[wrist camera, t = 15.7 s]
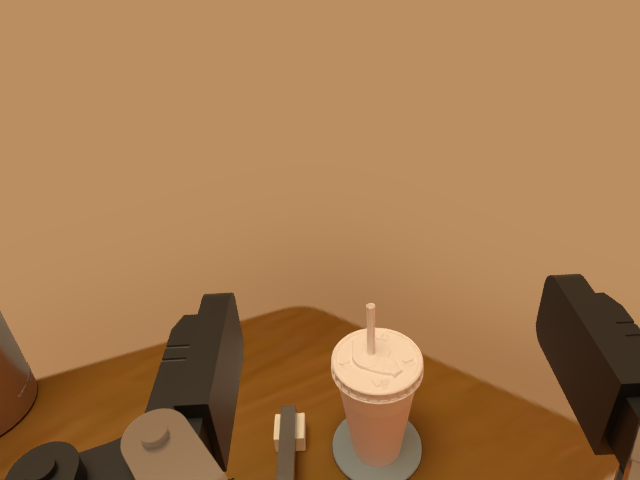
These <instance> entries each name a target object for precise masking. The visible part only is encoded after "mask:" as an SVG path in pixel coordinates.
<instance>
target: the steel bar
mask: <svg viewBox="0 0 640 480" xmlns="http://www.w3.org/2000/svg"><path fill="white" fill-rule="evenodd" d="M296 436H297V410H296V405H295V406H281V414H280V430H279V446H278V462H277V478H276V480H295V470H296Z"/></svg>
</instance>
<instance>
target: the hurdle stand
mask: <svg viewBox="0 0 640 480" xmlns="http://www.w3.org/2000/svg"><path fill="white" fill-rule="evenodd" d="M279 430H280V414H275V426H274V445H275V451H276V452H278V446H279ZM296 451H306V421H305V413H297V436H296Z"/></svg>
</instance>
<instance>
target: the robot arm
mask: <svg viewBox="0 0 640 480" xmlns="http://www.w3.org/2000/svg"><path fill="white" fill-rule="evenodd" d="M536 332H537V338H538V341H539V344H540V346H541V348H542V350H543V352H544V354H545V356H546V358H547V360H548V362H549V364H550V366H551V368H552V370H553V372H554V374H555V376H556V378H557V380H558V382H559V384H560V386H561V388H562V390H563V392H564V394H565V396H566V398H567V400H568V402H569V404H570V406H571V408H572V410H573V412H574V414H575V416H576V418H577V420H578V422H579V424H580V426H581V428H582V430H583V432H584V434H585V436H586V438H587V440H588V442H589V444H590V446H591V448H592V450H593V451H594V453H595V455H606V454H615V456H616V458H617V460H618V462H619V463H620V464H619V466H618V469H617V471H616V474H615V478H614V480H640V329H639V327H638V326H637V325H636V324H634V321H633V319H632V318H631V317H630V315H629V314H628V313H627V311H626V310H625V309H624V307H623V306H622V305H621V304H619V303H618V302H616V301H615V300H613V299H612V298H611V297H609V296H608V295H606V294H605V293H595V292H594V291H593V289H592V288H591V287H590V285H589V284H588V282H587V281H586V279H584V277H583V276H582V275H581V274H570V275H569V274H568V275H550V276H548V277H547V278H546V280H545V284H544V288H543V293H542V297H541V302H540V306H539V311H538V316H537V321H536ZM242 363H243V337H242V331H241V326H240V321H239V316H238V311H237V306H236V301H235V296H234V294H233V293H218V294H205V295H204V296H203V298H202V301H201V305H200V309H199V312H198V314H196V315H184V316H183V317H182V318H181V319H180V321H179V322H178V323H177V324H176V325H175V326H174V328H173V329H172V330H171V333H170V336H169V339H168V343H167V349H165V352H164V355H163V358H162V362H161V364H160V367H159V371H158V374H157V377H156V380H155V383H154V386H153V389H152V392H151V395H150V399H149V402H148V405H147V408H146V411H145V413H144V414H143V415H141V416H139V417H138V418H136V419H135V420H134V421H133V422H132V423H131V424H130V425H129V426H128V427H127V429H126V430H125V432H124V434H123V436H122V437H121V438H119V439H117V440H115V441H112V442H110V443H107V444H104V445H101V446H98V447H95V448H92V449H89V450H86V451H83V452H80V453H78V452H77V450H76V449H75V448H74V446H72V445H71V444H69V443H66V442H50V443H46V444H42V445H40V446H38V447H35V448H34V449H32V450H30V451H29V452H27V453H26V454H24V455H23V456H22V457H21V458H20V459H19V460H18V461H17V462H16V463H15V464H14V465H13V466H12V468H11V469H10V470H9V472H8V474H7V476H6V478H5V480H229V479H228V478H227V477H226V475H225V474H224V472H226V471H227V464H228V458H229V451H230V444H231V437H232V430H233V424H234V417H235V410H236V403H237V397H238V390H239V383H240V376H241V369H242ZM36 395H37V383H36V380H35V378H34V376H33V374H32V372H31V369H30V367H29V365H28V363H27V362H26V360H25V358H24V356H23V354H22V353H21V351H20V349H19V346H18V344H17V343H16V341H15V339H14V337H13V335H12V333H11V331H10V329H9V327H8V325H7V323H6V321H5V319H4V318H3V316H2V314H1V312H0V435H2V434H3V433H5V432H6V431H8V430H9V429H10V428H12V427H13V426H14V425H15V424H16V423H17V422H19V421H20V420H21V419H22V418H23V416H24V415H25V414H26V413H27V412H28V411H29V409H30V407H31V406H32V404H33V402H34V400H35V397H36ZM230 480H235V479H233V478H232V479H230Z"/></svg>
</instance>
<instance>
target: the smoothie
mask: <svg viewBox="0 0 640 480" xmlns="http://www.w3.org/2000/svg"><path fill="white" fill-rule="evenodd" d="M366 308H367V309H366V310H367V311H366V312H367V328H366V329H362V330H358V331H355V332H353V333H351V334H349V335H347V336H345V337H344V338H343V339H342V340H340V341H339V343H338V344H337V345H336V346H335V348H334V350H333V353H332V358H331V363H332V365H331V371H332V377H333V379H334V381H335V383H336V385H337V386H338V387H339V389H340V394H341V397H342V402H343V406H344V410H345V415H346V419H347V423H348V427H349V432H350V436H351V440H352V444H353V449H354V452H355V454H356V456H357V458H358V459H359V460H360V461H361V462H363V463H364V464H366V465H369V466H372V467H384V466H387V465H389V464H391V463H393V462H394V461H395V460H396V459H397V457H398V456H399V453H400V449H401V445H402V441H403V437H404V433H405V429H406V425H407V421H408V416H409V412H410V408H411V404H412V400H413V396H414V392H415V390H416V389H417V388H418V387H419V386H420V383H421V381H422V378H423V357H422V354H421V351H420V349H419V348H418V346H417V345H416V344H415V343H414V342H413V341H412V340H411V339H410V338H408V337H407V336H405V335H403V334H401V333H399V332H397V331H393V330H390V329H385V328H375V305H374V304H373V303H369V304H367V306H366Z"/></svg>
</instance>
